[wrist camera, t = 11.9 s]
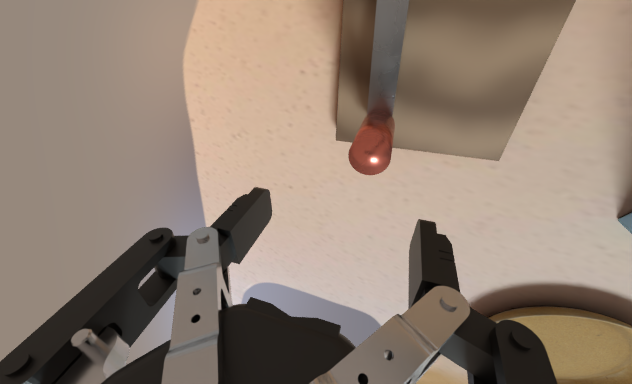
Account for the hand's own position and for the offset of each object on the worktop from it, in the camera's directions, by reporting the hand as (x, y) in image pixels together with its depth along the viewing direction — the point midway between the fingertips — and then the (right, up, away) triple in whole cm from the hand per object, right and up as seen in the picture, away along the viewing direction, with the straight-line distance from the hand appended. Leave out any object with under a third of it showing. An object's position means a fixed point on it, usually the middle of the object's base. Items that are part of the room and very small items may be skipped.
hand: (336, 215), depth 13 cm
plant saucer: (+36, -23, +27) cm, 51 cm away
